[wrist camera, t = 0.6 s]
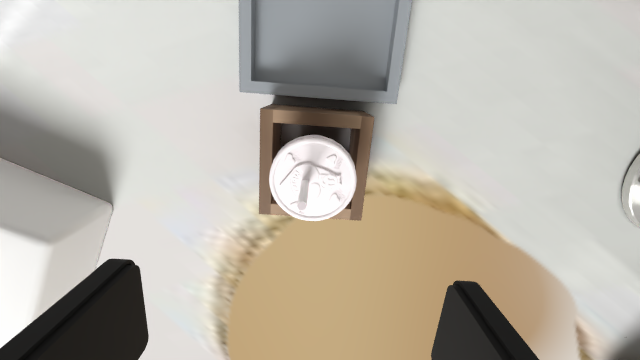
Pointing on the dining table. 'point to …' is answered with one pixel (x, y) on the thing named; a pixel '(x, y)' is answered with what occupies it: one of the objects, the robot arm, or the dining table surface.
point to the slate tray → (323, 48)
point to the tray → (43, 243)
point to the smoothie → (312, 178)
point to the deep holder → (314, 116)
